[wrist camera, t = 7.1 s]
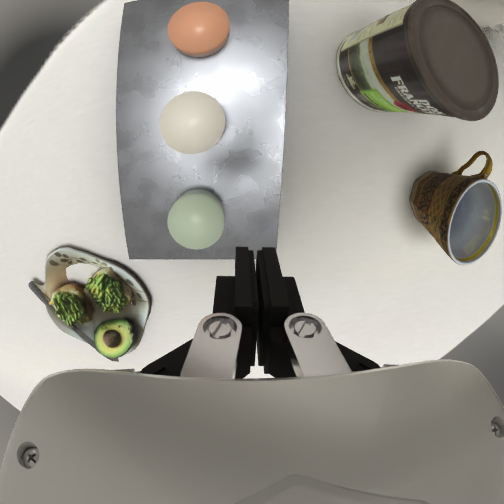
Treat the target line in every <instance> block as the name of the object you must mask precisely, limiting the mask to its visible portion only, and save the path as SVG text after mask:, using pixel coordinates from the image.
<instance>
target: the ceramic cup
mask: <svg viewBox="0 0 504 504" xmlns="http://www.w3.org/2000/svg"><path fill="white" fill-rule="evenodd" d="M480 155H485V156H486V158H487V161H486V165H485V167H484V168H483V170H482V171H481V172H480V173H479V174H476V175H471V176H463V175H462V172H463V171H464V170H465V169H466V168H468V167H469V166H470V165H471V164H472V163H473V162H474V161H475V160H476V159H477V158H478V157H479V156H480ZM491 171H492V159H491V157H490V156H489V154H488V153H486V152H485V151H479V152H477V153H475V154H474V155H473V156H472V158H471V159H470V160H469V161H468V162H467V163H466V164H464V165H463V166H462V167H460V169H459V170H458V171H456V172H453V173H451V174H448V173H438V172H431V171H429V172H427V173H426V174H424V175H423V176H422V177H420V178H419V179H417V180H416V181H415V183H414V187H413V190H412V193H411V197H410V203H411V206H412V208H413V211H414V214H415V217H416V218H417V219H418V220H419V221H420V222H421V223H422V224H423V226H424V227H425V228H426V229H427V230H428V231H429V233H430V234H431V235H432V236H433V237H434V238H435V240H436V241H437V242H438V244H439V245H440V246H441V248H442V249H443V250H444V251H445V252H446V254H447V255H448V256H449V257H450V258H451V259H452V260H453V261H454V262H455V263H457V264H459V265H469V264H472V263H474V262H476V261H477V260H479V259H480V258H481V257H482V256H483V255H484V254H485V253H486V252H487V251H488V249H489V248H490V247H491V245H492V243H493V241H494V239H495V237H496V235H497V233H498V230H499V226H500V222H501V216H502V202H501V197H500V193H499V191H498V189H497V187H496V186H495V184H494V183H493V182H491V181H490V180H487V177H488V176H489V175H490V173H491Z"/></svg>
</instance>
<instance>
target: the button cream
mask: <svg viewBox="0 0 504 504" xmlns="http://www.w3.org/2000/svg"><path fill="white" fill-rule="evenodd" d="M225 123H226V120H225V114H224V111H223V109H222V107H221V105H220V104H219V102H218V101H217V100H216V99H215V98H213V97H212V96H210V95H208V94H206V93H203V92H199V91H189V92H184V93H182V94H179V95H177V96H175V97H174V98H173V99H171V100H170V101H169V102H168V103H167V105H166V106H165V108H164V109H163V111H162V114H161V117H160V131H161V134H162V137H163V139H164V141H165V142H166V143H167V144H168V145H169V146H170V147H171V148H172V149H174V150H175V151H177V152H180V153H183V154H198V153H202V152H205V151H207V150H208V149H210V148H212V147H213V146H214V145H215V144H216V143H217V142H218V140H219V139H220V138H221V136H222V134H223V132H224V129H225Z"/></svg>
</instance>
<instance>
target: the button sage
mask: <svg viewBox="0 0 504 504" xmlns="http://www.w3.org/2000/svg"><path fill="white" fill-rule="evenodd" d="M224 216H225V214H224V208H223V205H222V203H221V201H220V200H219V199H218V197H217V196H215V195H214V194H213V193H211V192H209V191H206V190H202V189H193V190H189V191H187V192H185V193H183V194H182V195H181V196H179V197H178V199H177V200H176V202H175V203H174V205H173V206H172V208H171V210H170V212H169V215H168V220H167V224H168V229H169V232H170V234H171V236H172V237H173V239H174V240H175V241H176V242H177V243H179V244H180V245H182V246H184V247H186V248H189V249H196V250H197V249H204V248H207V247H209V246H211V245H213V244H214V243H215V242H217V240H218V239H219V238H220V237H221V235H222V232H223V229H224Z"/></svg>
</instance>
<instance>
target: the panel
mask: <svg viewBox="0 0 504 504" xmlns="http://www.w3.org/2000/svg"><path fill="white" fill-rule="evenodd" d="M194 2H209V3H213V4H216V5H218V6H219V7H221V8H222V9H223V10H224V11H225V12H226V14H227V15H228V18H229V37H228V40H227V42H226V44H225V45H224V46H223V47H222V48H221V49H220V50H219V51H217V52H216V53H214V54H212V55H209V56H206V57H190V56H187V55H185V54H183V53H181V52H180V51H179V50H178V49H177V48H176V47H175V45H174V44H173V43H172V42H171V40H170V38H169V36H168V23H169V21H170V19H171V17H172V16H173V15H174V13H175V12H176V11H177V10H179V9H180V8H182V7H183V6H185V5H188V4H191V3H194ZM288 17H289V0H137V1H132V2H128V3H124V10H123V17H122V24H121V32H120V42H119V53H118V68H117V91H116V132H117V156H118V172H119V184H120V194H121V204H122V212H123V220H124V228H125V235H126V241H127V248H128V254H129V259H235V252H236V247H248V250H253V252H254V259H256V258H257V250H262V247H275V249H276V248H277V235H278V222H279V208H280V194H281V179H282V163H283V146H284V127H285V107H286V84H287V56H288ZM189 91H199V92H203V93H206V94H208V95H210V96H212V97H213V98H215V99H216V100H217V101H218V102H219V104H220V105H221V107H222V109H223V111H224V114H225V120H226V123H225V129H224V132H223V134H222V136H221V138H220V139H219V140H218V142H217V143H216V144H215V145H214V146H213V147H212V148H210V149H208V150H207V151H205V152H202V153H198V154H183V153H180V152H177V151H175V150H174V149H172V148H171V147H170V146H169V145H168V144H167V143H166V142H165V141H164V139H163V137H162V134H161V131H160V117H161V114H162V111H163V109H164V108H165V106H166V105H167V103H168V102H169V101H170V100H171V99H173V98H174V97H175V96H177V95H179V94H182V93H184V92H189ZM193 189H202V190H206V191H209V192H211V193H213V194H214V195H215V196H217V197H218V199H219V200H220V201H221V203H222V205H223V208H224V214H225V216H224V229H223V232H222V235H221V237H220V238H219V239H218V240H217V242H215V243H214V244H213V245H211V246H209V247H207V248H204V249H197V250H196V249H189V248H186V247H184V246H182V245H180V244H179V243H177V242H176V241H175V240H174V239H173V237H172V236H171V234H170V232H169V229H168V224H167V220H168V215H169V212H170V210H171V208H172V206H173V205H174V203H175V202H176V200H177V199H178V197H179V196H181V195H182V194H183V193H185V192H187V191H189V190H193Z"/></svg>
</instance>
